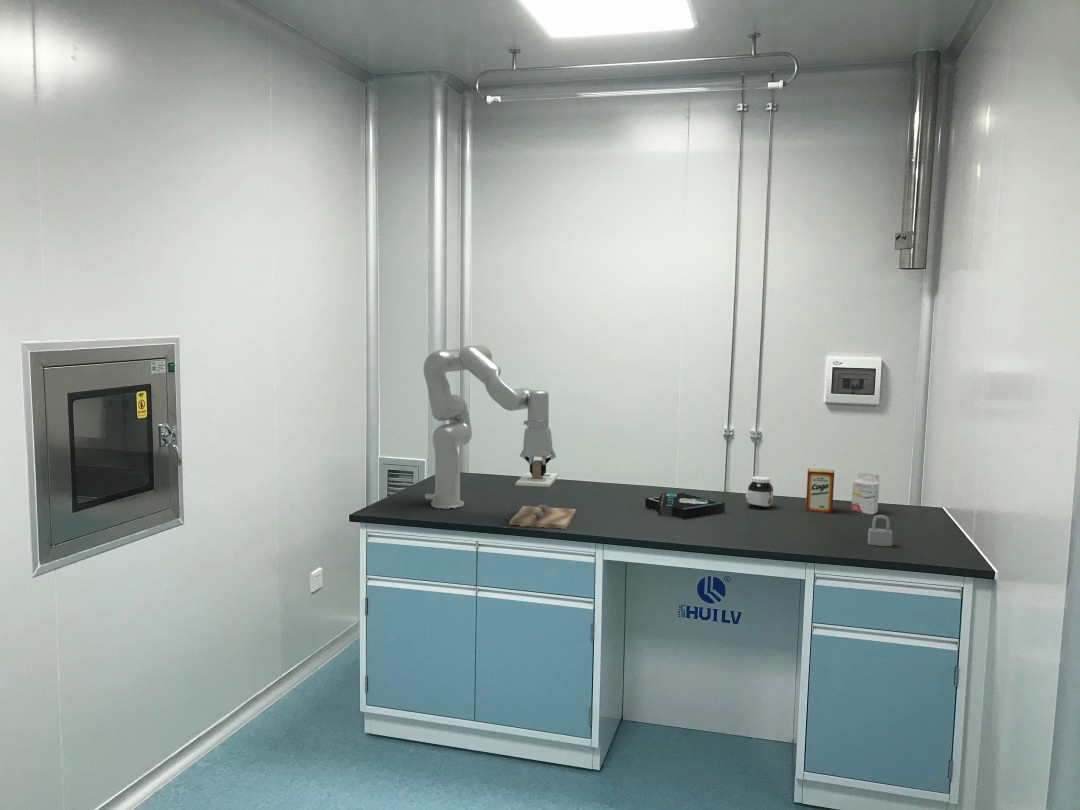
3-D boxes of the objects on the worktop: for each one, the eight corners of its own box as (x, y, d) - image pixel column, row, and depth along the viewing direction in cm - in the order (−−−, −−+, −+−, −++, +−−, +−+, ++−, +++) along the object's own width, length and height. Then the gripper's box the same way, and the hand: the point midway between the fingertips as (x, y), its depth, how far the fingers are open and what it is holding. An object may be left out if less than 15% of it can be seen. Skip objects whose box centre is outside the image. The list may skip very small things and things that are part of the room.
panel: (515, 485, 291) (515, 465, 290) (527, 474, 310) (527, 456, 310) (549, 486, 289) (549, 466, 288) (558, 476, 308) (558, 457, 307)
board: (509, 525, 291) (509, 515, 290) (523, 509, 314) (523, 500, 314) (565, 529, 287) (565, 518, 287) (575, 512, 311) (575, 503, 310)
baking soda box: (806, 511, 318) (808, 470, 317) (805, 507, 325) (807, 467, 323) (832, 513, 316) (834, 471, 314) (831, 509, 322) (833, 469, 320)
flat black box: (642, 517, 306) (725, 523, 300) (642, 507, 306) (725, 512, 300) (647, 500, 335) (723, 504, 330) (648, 490, 335) (724, 494, 329)
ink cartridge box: (850, 510, 320) (852, 473, 318) (855, 508, 324) (857, 471, 322) (872, 514, 314) (875, 476, 313) (877, 512, 318) (880, 474, 316)
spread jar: (760, 510, 318) (762, 481, 317) (736, 505, 327) (737, 476, 325) (778, 506, 326) (779, 477, 325) (753, 501, 334) (755, 472, 333)
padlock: (869, 545, 272) (870, 515, 271) (867, 542, 276) (869, 512, 275) (892, 547, 270) (894, 517, 269) (890, 544, 274) (892, 514, 273)
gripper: (513, 425, 295) (513, 476, 297) (558, 426, 292) (558, 477, 294) (518, 422, 303) (518, 472, 305) (562, 423, 300) (561, 474, 301)
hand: (537, 474), depth 299 cm, fingers closed on panel, 3 cm apart
